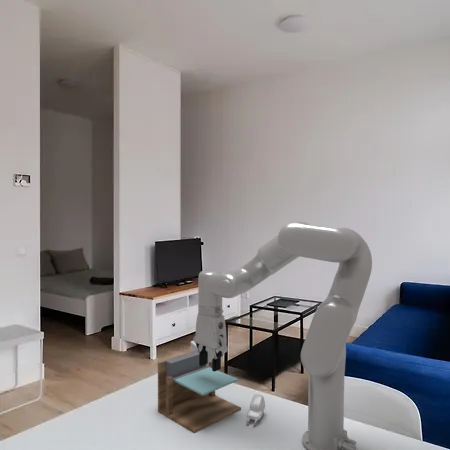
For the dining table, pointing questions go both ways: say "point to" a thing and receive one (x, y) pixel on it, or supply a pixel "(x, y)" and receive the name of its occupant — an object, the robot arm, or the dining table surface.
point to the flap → (196, 374)
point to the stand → (190, 403)
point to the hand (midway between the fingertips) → (209, 366)
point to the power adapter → (256, 408)
